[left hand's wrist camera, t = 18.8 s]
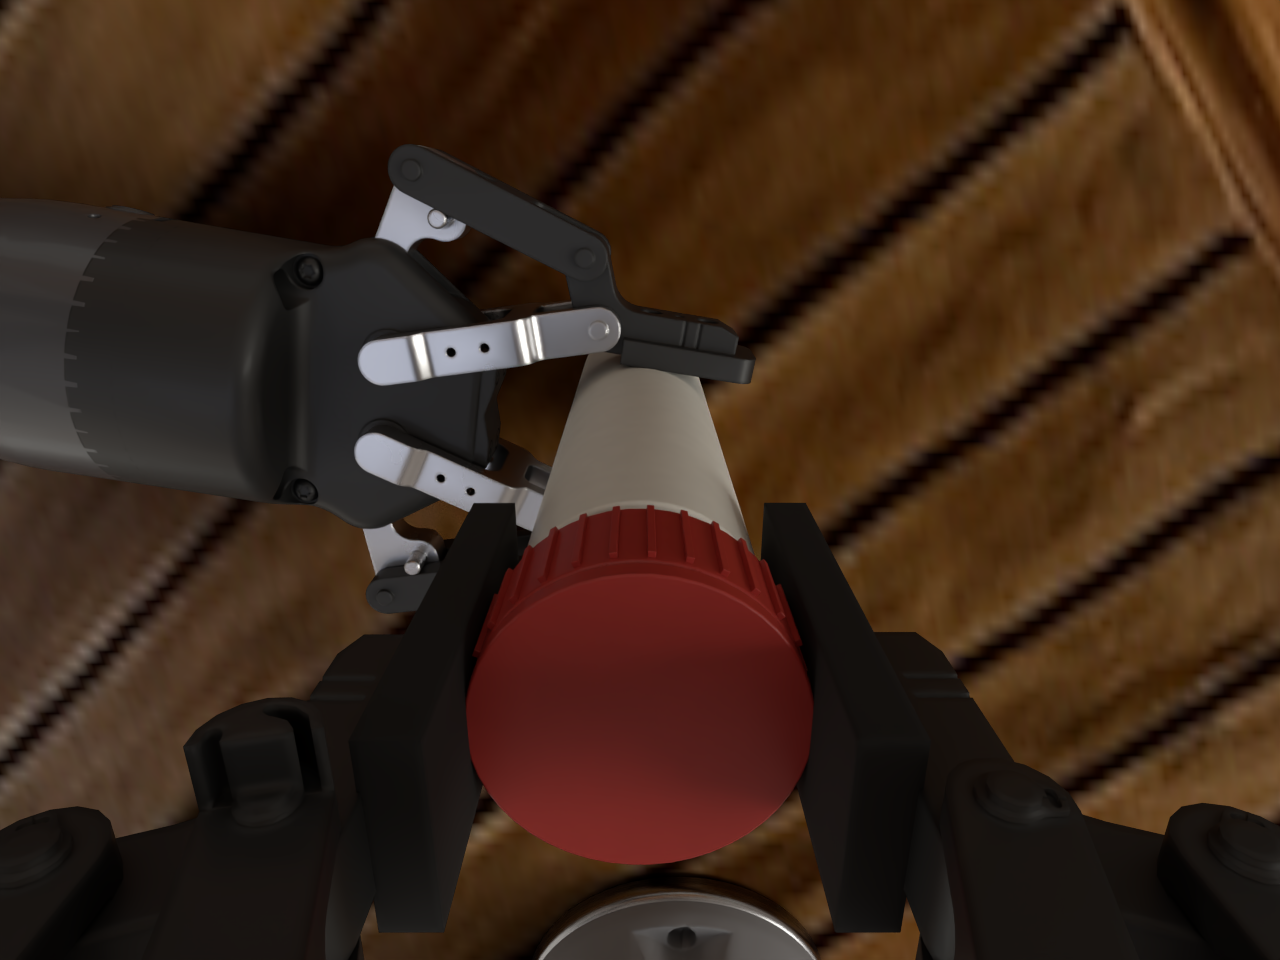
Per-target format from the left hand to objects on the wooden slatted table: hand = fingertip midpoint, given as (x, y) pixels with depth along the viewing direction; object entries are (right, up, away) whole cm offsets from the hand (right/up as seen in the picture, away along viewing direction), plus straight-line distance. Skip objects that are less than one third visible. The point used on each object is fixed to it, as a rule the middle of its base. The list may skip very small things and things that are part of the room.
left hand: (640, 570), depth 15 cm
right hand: (+3, +3, +9) cm, 9 cm away
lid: (0, -1, -4) cm, 4 cm away
